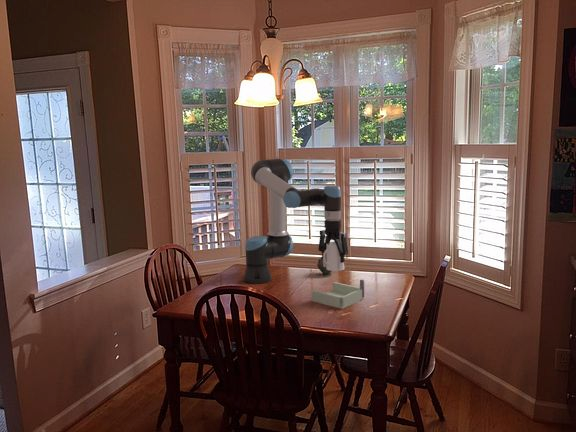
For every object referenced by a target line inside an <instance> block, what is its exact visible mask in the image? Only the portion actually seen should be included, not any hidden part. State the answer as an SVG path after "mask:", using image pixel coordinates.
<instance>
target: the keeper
mask: <svg viewBox="0 0 576 432" xmlns="http://www.w3.org/2000/svg"><path fill="white" fill-rule="evenodd" d="M364 299H365V279H359V287H358V286H354V285H350V284H345V283H341V282H336V281H333V282H332V290H330V291H328V292H323V291H319V290H314V289H312V290H311V302H314V303H317V304H322V305H326V306H329V307H333V308H338V309H341V310H343V309H345V308H347V307H350V306H352V305H354V304H356V303H358V302H360V301H362V300H364Z"/></svg>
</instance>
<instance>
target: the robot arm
mask: <svg viewBox="0 0 576 432" xmlns="http://www.w3.org/2000/svg"><path fill="white" fill-rule="evenodd" d="M250 169H251V170H250V176H251V178H252V180H253V181H254V182H255V183H256V184H257V185H259V186H264V187H266V188H267V189H268V190H269V221H270V222H269V228H270V229H269V231H268V232H267V236H265V235H255V236H251V237H249V238H247V239H246V241H245V243H244V244H245V247H244V250H245V269H244V274H243V278H242V279H243V282H244V281H245V283H246V282H248V283H247V284H255V285H256V284H266V283H269V282H271V281H272V273H271V271H270V268H269V264H268V263H269V262H268V260H271V259H272V260H273V259H277V258H284V257H287V256H289V255H290V254H291V253H292V251H293V249H294V241H293V238H292V236H291V235H290V234H289V232H288V231H287V219H286V218H287V216H286V215H287V210H286V209H287V208H288V209H297V208H302V207H303V208H304V207H313V206H323V207H324V210H323V211H324V229H322V230H319V240H318V242H319V243H318V251H319V252H321V257H322V259H323V255H324V252H325V250H326V249H327V247H326V244H328V245H329V243H330V242H331V241H333V242H335V243H336V245H337V248H338V251H339V254H340V255H339V256H338V270H341V269H343V262H344V263H345V257H346V255H349V249H348V243H347V234H348V233H347V232H342V230H341V227H342V220H341V218H342V210H341V209H342V194H341V192H342V191H341V187H340V186H339V185H325V186H324V189H323V188H318V187H317V188H314V187H313V188H311V189H303V190H299V189H297V188H295V187H294V186H293V185H291V184H290V183H289V181H290V180H292V178H293V175H294V170H293V169H294V168H293V166H292V164H291V163H290V161H289V160H288V159H286V158H272V159H270V158H269V159H259V160H258V161H255V162H254V163H253V165H252V166H251V168H250ZM325 261H326V262H327V252H326V253H325ZM326 266H327V264H326V263H325V262H324V259H323V267H326ZM341 271H342V270H341Z"/></svg>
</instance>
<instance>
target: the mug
mask: <svg viewBox="0 0 576 432" xmlns="http://www.w3.org/2000/svg"><path fill="white" fill-rule="evenodd" d="M326 247H327V249H326V250H325V252H324V255H323V259H324V262H325V263H326V264H327V266H326V269H327V270H330V271H331V272H339V271H344V270H345V261H344V262H343V269H341V270H338V256H339V255H340V254H339V251H338V248H337V245H336V243H335V242H334V241H330V243H329V245H328V244H326ZM326 252H327V262H326V261H325V253H326Z"/></svg>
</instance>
